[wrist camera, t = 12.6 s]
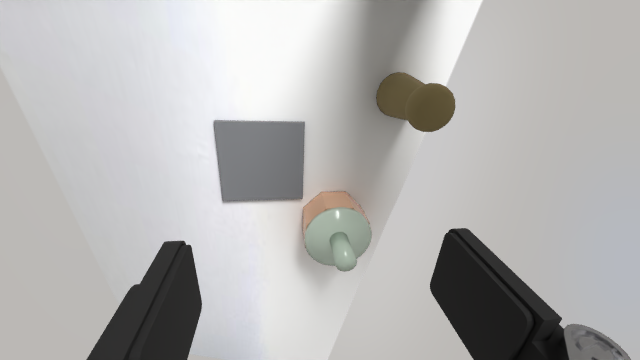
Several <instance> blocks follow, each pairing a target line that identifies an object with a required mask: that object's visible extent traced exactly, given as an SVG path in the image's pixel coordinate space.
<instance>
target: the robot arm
mask: <svg viewBox="0 0 640 360" xmlns="http://www.w3.org/2000/svg"><path fill="white" fill-rule="evenodd" d="M430 289H431V292H432V294H433V296H434V297H435V299H436V301H437V302H438V304H439V305H440V307H441V309H442V310H443V312H444V313H445V315H446V316H447V318H448V320H449V321H450V323H451V324H452V326H453V328H454V329H455V331H456V332H457V334H458V336H459V337H460V339H461V340H462V342H463V343H464V345H465V347H466V348H467V349H468V351H469V353H470V355H471V356H472V358H473V359H474V360H631V359H630V357H629V356H628V354H627V353H626V352H625V351H624V350H623V349H622V348H621V347H620V346H619V345H618V344H617V343H615V342H614V341H613V340H612V339H610V338H609V337H607V336H605V335H604V334H602V333H600V332H598V331H596V330H594V329H592V328H590V327H587V326H583V325H579V324H570V325H567V326H566V327H565V328H564V329H563V328H562V327H561V326H560V325H559V323H560V321H561V320H562V318H561V317H560V316H559V315H558V314H557V313H556V312H555V311H554V310H552V308H550V306H548V305H547V304H546V303H545V302H544V301H543V300H542V299H541V298H540V297H539V296H538V295H537V294H536V293H535V292H534V291H533V290H532V289H530V288H529V287H528V286H527V285H526V284H525V283H524V282H523V281H522V280H521V279H520V278H519V277H518V276H517V275H516V274H515V273H514V272H513V271H512V270H511V269H510V268H508V267H507V266H506V265H505V264H504V263H503V262H502V261H501V260H500V259H499V258H498V257H497V256H496V255H495V254H494V253H493V252H492V251H490V249H488V248H487V247H486V246H485V245H484V244H483V243H482V242H481V241H480V240H479V239H478V238H477V237H476V236H475V235H474V234H473V233H471V231H470V230H468V229H466V228H461V229H451V230H449V232H448V233H446V234H445V237H444V240H443V243H442V247H441V250H440V253H439V256H438V259H437V263H436V266H435V269H434V273H433V276H432V279H431V282H430ZM201 308H202V301H201V295H200V290H199V285H198V279H197V274H196V269H195V263H194V258H193V253H192V248H191V245H186V243H185V242H184V241H168V242H164V244H163V245H162V247H161V248H160V250H159V252H158V254H157V255H156V257H155V259H154V260H153V262H152V264H151V266H150V267H149V269H148V271H147V272H146V274H145V276H144V278H143V279H142V281H141V283H140V284H137V285H134V286H132V287H131V288H130V290H129V291H128V293H127V294H126V296H125V298H124V299H123V301H122V302H121V304H120V306H119V307H118V309H117V311H116V313H115V314H114V316H113V317H112V319H111V321H110V322H109V324H108V325H107V327H106V329H105V330H104V332H103V334H102V335H101V337H100V339H99V340H98V342H97V343H96V345H95V347H94V348H93V350H92V352H91V353H90V355H89V357H88V358H87V360H187V358H188V355H189V351H190V348H191V344H192V341H193V337H194V334H195V330H196V327H197V324H198V320H199V317H200V313H201Z"/></svg>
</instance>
